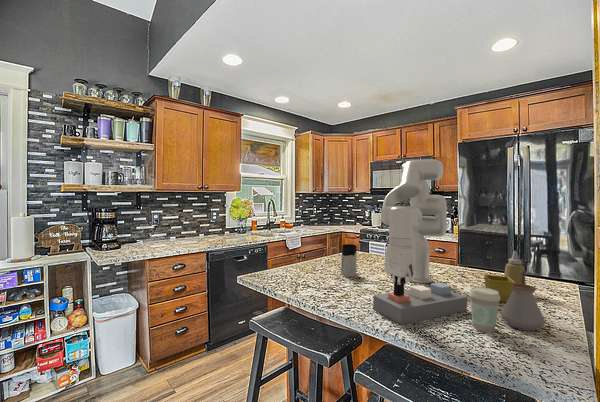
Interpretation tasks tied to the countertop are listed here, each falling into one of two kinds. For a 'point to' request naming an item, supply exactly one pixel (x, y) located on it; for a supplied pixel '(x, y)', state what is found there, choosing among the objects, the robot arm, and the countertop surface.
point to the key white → (420, 292)
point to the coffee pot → (522, 307)
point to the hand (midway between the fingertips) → (398, 294)
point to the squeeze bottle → (514, 268)
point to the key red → (399, 298)
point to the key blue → (440, 289)
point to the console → (419, 307)
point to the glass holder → (348, 259)
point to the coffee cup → (484, 308)
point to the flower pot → (500, 285)
